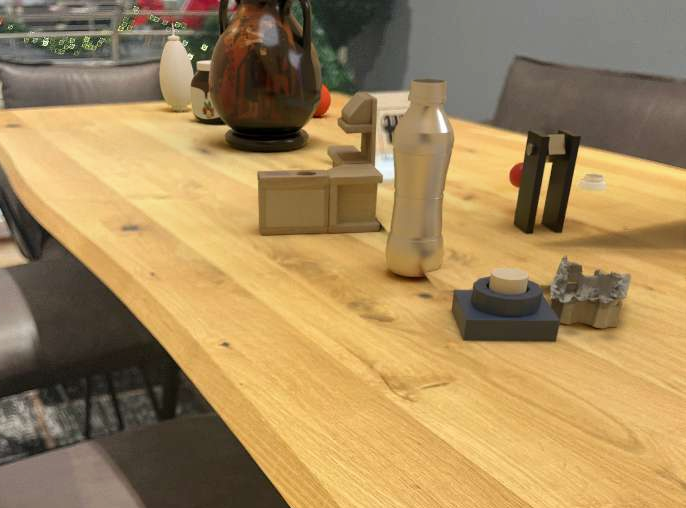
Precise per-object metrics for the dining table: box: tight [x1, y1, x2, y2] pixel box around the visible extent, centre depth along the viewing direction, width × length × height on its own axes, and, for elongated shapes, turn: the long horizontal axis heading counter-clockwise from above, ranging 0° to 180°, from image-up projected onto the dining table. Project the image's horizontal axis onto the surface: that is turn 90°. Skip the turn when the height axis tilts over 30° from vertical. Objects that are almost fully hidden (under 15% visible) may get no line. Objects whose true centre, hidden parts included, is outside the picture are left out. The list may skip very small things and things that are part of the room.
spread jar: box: [190, 59, 226, 125], centre depth 168 cm, size 12×11×12 cm
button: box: [489, 267, 530, 295], centre depth 74 cm, size 4×4×2 cm
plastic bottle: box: [384, 78, 456, 278], centre depth 83 cm, size 6×7×20 cm
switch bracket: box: [513, 129, 582, 235], centre depth 98 cm, size 7×7×13 cm
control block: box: [451, 275, 561, 343], centre depth 76 cm, size 9×8×4 cm
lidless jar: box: [576, 173, 608, 192], centre depth 119 cm, size 5×3×5 cm
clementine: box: [312, 83, 332, 118], centre depth 176 cm, size 8×7×7 cm
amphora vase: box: [208, 0, 323, 152], centre depth 142 cm, size 22×22×28 cm
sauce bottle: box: [158, 22, 195, 113], centre depth 177 cm, size 8×8×18 cm
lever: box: [508, 133, 565, 189], centre depth 100 cm, size 12×3×3 cm
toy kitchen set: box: [256, 91, 384, 236], centre depth 105 cm, size 18×17×15 cm
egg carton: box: [549, 255, 632, 329], centre depth 79 cm, size 11×8×4 cm
